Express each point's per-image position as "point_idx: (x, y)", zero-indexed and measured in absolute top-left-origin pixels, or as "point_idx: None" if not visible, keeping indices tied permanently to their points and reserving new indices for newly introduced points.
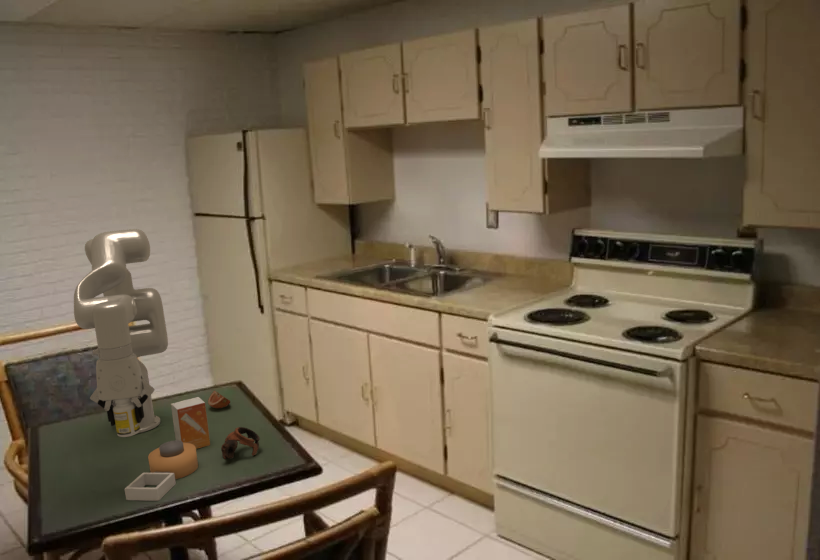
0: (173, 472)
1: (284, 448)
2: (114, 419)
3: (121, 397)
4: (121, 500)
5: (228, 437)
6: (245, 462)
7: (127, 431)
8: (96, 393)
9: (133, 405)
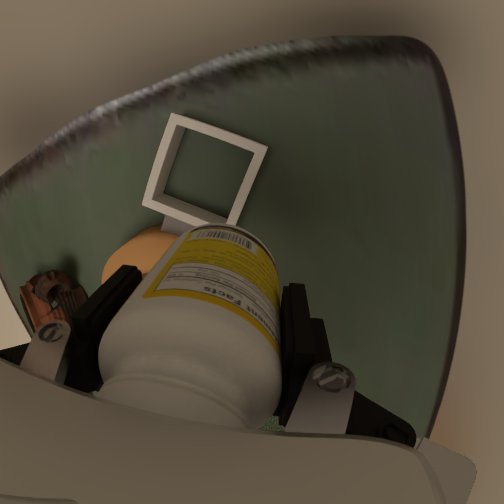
0: (154, 230)
1: (11, 282)
2: (281, 324)
3: (89, 410)
4: (281, 150)
5: (51, 314)
6: (45, 253)
7: (204, 229)
8: None
9: (99, 356)
